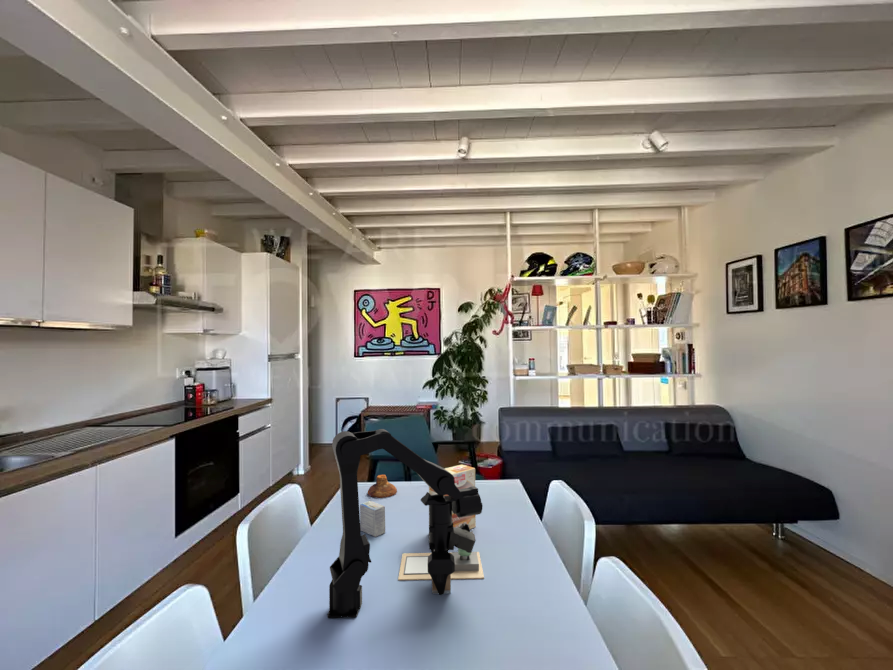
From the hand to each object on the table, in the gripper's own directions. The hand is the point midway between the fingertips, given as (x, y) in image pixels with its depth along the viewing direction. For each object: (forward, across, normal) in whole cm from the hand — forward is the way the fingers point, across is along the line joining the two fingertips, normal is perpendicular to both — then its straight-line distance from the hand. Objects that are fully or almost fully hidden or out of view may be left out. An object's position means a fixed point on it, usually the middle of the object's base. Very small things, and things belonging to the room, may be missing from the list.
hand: (441, 583), depth 107 cm
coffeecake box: (+1, +34, -4) cm, 34 cm away
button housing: (+1, +11, -6) cm, 13 cm away
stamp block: (+1, 0, 0) cm, 1 cm away
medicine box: (+1, +34, +22) cm, 41 cm away
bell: (+2, +72, +24) cm, 76 cm away
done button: (0, +11, -7) cm, 13 cm away
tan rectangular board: (+1, +11, 0) cm, 11 cm away
